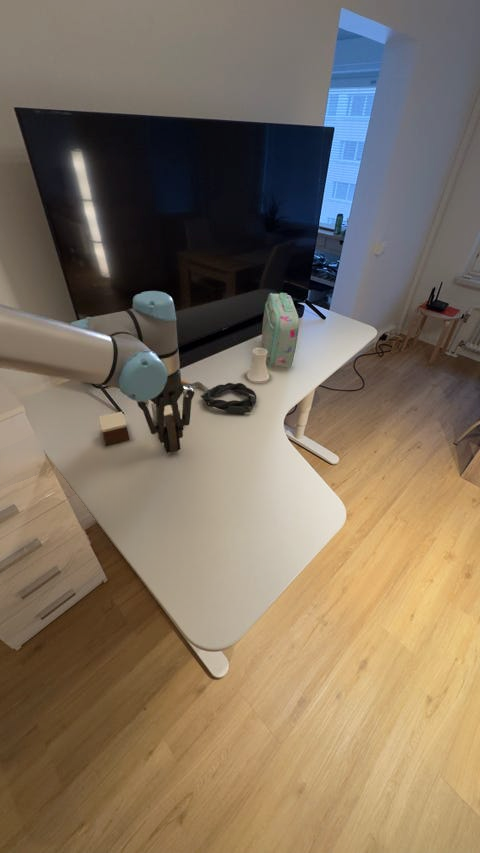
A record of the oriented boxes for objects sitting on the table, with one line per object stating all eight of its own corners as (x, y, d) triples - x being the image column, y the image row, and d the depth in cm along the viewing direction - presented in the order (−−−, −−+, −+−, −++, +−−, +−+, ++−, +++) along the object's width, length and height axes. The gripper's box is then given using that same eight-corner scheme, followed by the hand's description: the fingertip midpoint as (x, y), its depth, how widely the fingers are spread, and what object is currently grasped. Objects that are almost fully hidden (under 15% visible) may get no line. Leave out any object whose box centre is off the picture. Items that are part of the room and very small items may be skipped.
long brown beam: (170, 453, 87) (166, 423, 80) (151, 415, 98) (146, 386, 92) (177, 451, 88) (174, 421, 81) (157, 413, 99) (153, 384, 92)
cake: (106, 446, 89) (101, 430, 86) (103, 432, 94) (98, 416, 90) (129, 440, 91) (126, 424, 88) (125, 426, 96) (121, 411, 92)
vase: (266, 371, 121) (269, 345, 115) (270, 383, 116) (273, 356, 109) (245, 372, 120) (247, 346, 114) (248, 383, 115) (250, 357, 108)
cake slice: (164, 431, 95) (162, 415, 91) (157, 419, 99) (155, 403, 95) (181, 426, 97) (179, 411, 93) (174, 414, 101) (172, 399, 97)
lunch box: (258, 338, 141) (262, 285, 127) (283, 338, 142) (290, 285, 128) (266, 372, 121) (272, 313, 107) (295, 372, 121) (304, 313, 108)
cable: (197, 412, 102) (196, 400, 99) (204, 386, 112) (204, 375, 110) (254, 417, 101) (255, 405, 98) (256, 390, 112) (257, 379, 109)
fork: (155, 374, 114) (208, 389, 108) (158, 371, 115) (210, 385, 109) (157, 380, 116) (209, 394, 110) (160, 376, 117) (212, 390, 111)
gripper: (190, 354, 78) (195, 432, 93) (122, 366, 73) (139, 446, 88) (201, 370, 73) (205, 449, 88) (129, 384, 68) (146, 466, 83)
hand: (172, 448), depth 88 cm, fingers closed on long brown beam, 2 cm apart
